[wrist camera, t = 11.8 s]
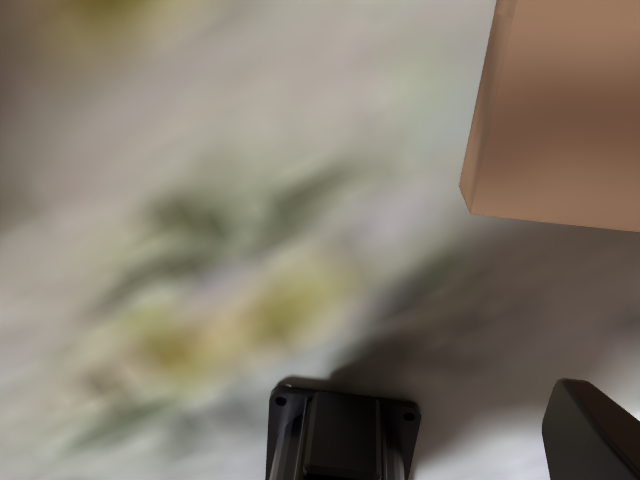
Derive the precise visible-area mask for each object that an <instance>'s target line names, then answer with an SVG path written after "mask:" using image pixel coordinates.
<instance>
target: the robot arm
mask: <svg viewBox="0 0 640 480" xmlns="http://www.w3.org/2000/svg"><path fill="white" fill-rule="evenodd" d="M278 397H284V398H285V399H283V400H282V399H279V398H278ZM407 412H411V413H412V414H409V415H407V414H405V413H407ZM420 420H421V412H420V407H419V405H418V404H416V403H415V402H412V401H405V400H396V399H388V398H379V397H371V396H362V395H354V394H346V393H337V392H329V391H320V390H312V389H303V388H295V387H286V386H278V387H275V388H274V389H273V390H272V392H271V396H270V400H269V420H268V439H267V459H266V479H265V480H408V477H409V472H410V467H411V463H412V458H413V453H414V449H415V444H416V439H417V434H418V430H419V425H420ZM542 436H543V442H544V447H545V453H546V458H547V463H548V469H549V474H550V480H640V421H639V420H637V419H636V418H635V417H634V416H632V415H631V414H630V413H628V412H627V411H626V410H625V409H623V408H622V407H621V406H619V405H618V404H617V403H616V402H614V401H613V400H612V399H611V398H609V397H608V396H607V395H605V394H604V393H603V392H602V391H600V390H599V389H598V388H596V387H595V386H594V385H593V384H591V383H590V382H588V381H584V380H576V379H567V378H562V379H559V380H558V381H557V382H556V384H555V386H554V388H553V391H552V394H551V397H550V400H549V403H548V406H547V409H546V412H545V415H544V418H543V422H542Z"/></svg>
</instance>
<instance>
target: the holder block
mask: <svg viewBox="0 0 640 480" xmlns="http://www.w3.org/2000/svg"><path fill="white" fill-rule="evenodd" d="M459 188H460V190H461V193H462V195H463V198H464V200H465V202H466V205H467V207H468V210H469V212H470V214H471V215H481V216H490V217H500V218H509V219H519V220H528V221H538V222H547V223H557V224H566V225H576V226H585V227H595V228H604V229H614V230H624V231H633V232H640V0H497V2H496V7H495V12H494V17H493V22H492V26H491V31H490V36H489V41H488V46H487V51H486V56H485V61H484V66H483V71H482V76H481V81H480V86H479V90H478V95H477V100H476V105H475V110H474V115H473V120H472V125H471V130H470V135H469V140H468V145H467V149H466V154H465V159H464V164H463V169H462V174H461V179H460V184H459Z"/></svg>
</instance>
